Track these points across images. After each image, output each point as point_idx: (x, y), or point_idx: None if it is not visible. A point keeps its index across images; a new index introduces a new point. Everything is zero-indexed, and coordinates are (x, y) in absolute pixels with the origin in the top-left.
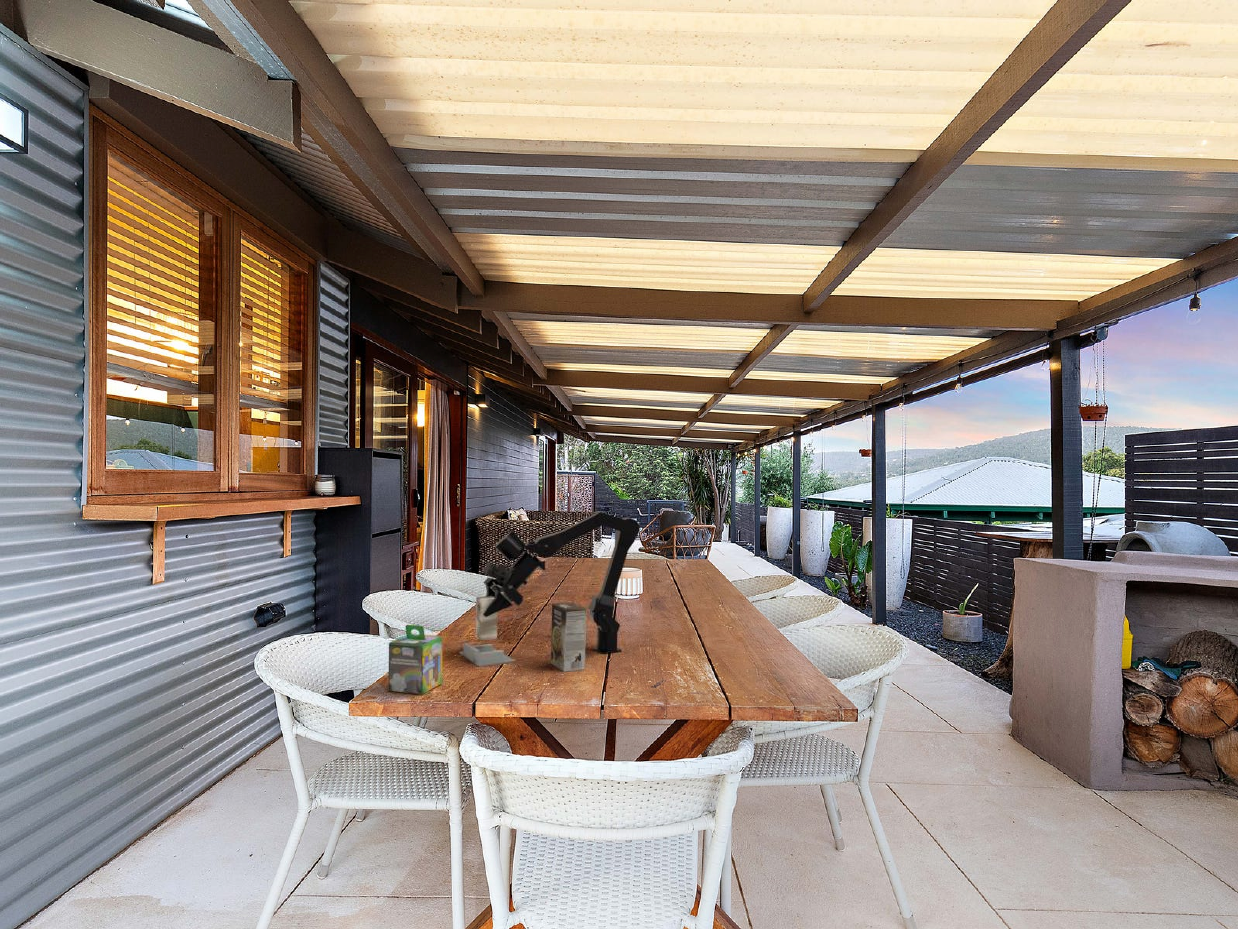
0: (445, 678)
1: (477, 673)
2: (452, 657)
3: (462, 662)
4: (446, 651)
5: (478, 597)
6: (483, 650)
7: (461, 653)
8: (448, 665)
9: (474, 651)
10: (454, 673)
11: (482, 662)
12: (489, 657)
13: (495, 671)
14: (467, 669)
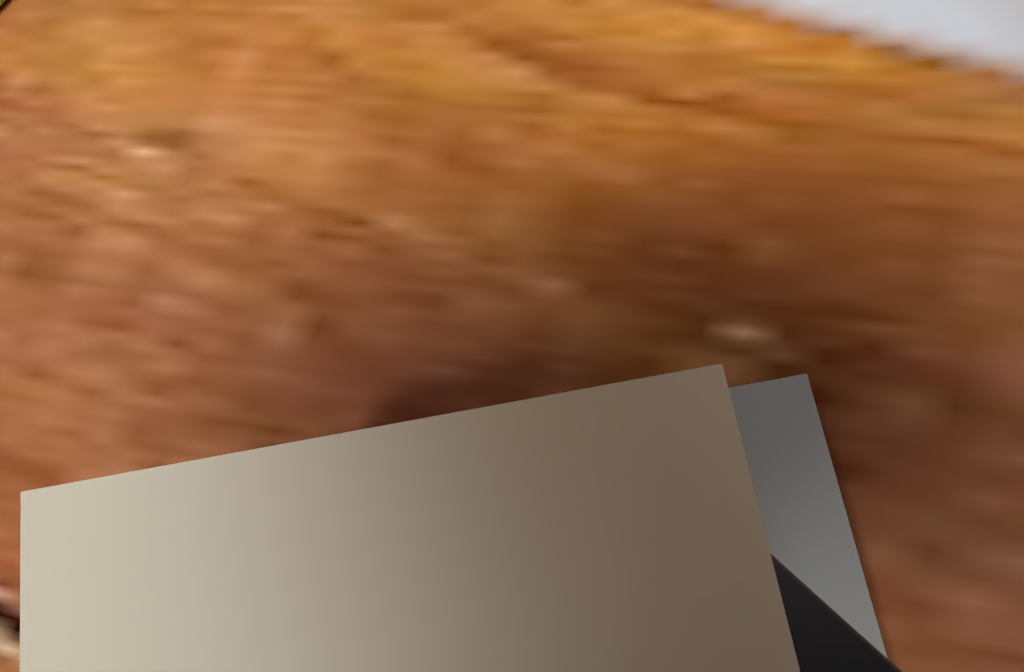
0: (14, 175)
1: (32, 434)
2: (661, 294)
3: (443, 360)
4: (927, 264)
5: (638, 443)
6: None
7: (742, 385)
8: (383, 232)
9: None
10: (117, 253)
11: None
12: None
13: (18, 607)
14: (191, 370)
